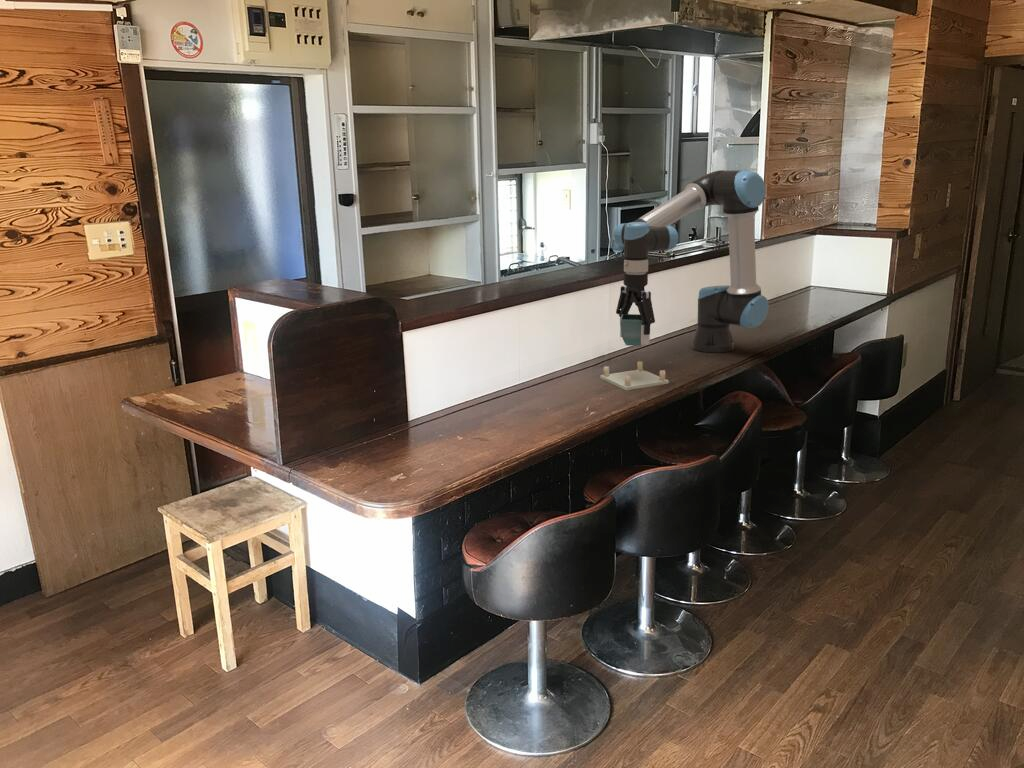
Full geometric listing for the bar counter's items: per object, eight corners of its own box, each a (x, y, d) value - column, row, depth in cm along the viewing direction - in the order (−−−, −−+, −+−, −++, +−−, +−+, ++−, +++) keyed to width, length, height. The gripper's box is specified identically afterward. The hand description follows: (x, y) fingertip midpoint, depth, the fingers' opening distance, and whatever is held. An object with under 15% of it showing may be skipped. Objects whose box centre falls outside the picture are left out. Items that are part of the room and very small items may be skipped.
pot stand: (641, 371, 281) (641, 360, 280) (668, 383, 267) (669, 371, 266) (600, 378, 275) (600, 366, 274) (626, 390, 261) (626, 378, 260)
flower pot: (647, 347, 263) (648, 319, 260) (619, 347, 264) (619, 319, 262) (649, 341, 271) (649, 314, 268) (621, 341, 273) (622, 313, 270)
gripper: (605, 269, 270) (605, 334, 276) (646, 278, 249) (645, 349, 255) (625, 267, 273) (624, 332, 279) (667, 276, 252) (665, 346, 258)
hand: (634, 340), depth 267 cm, fingers closed on flower pot, 12 cm apart
